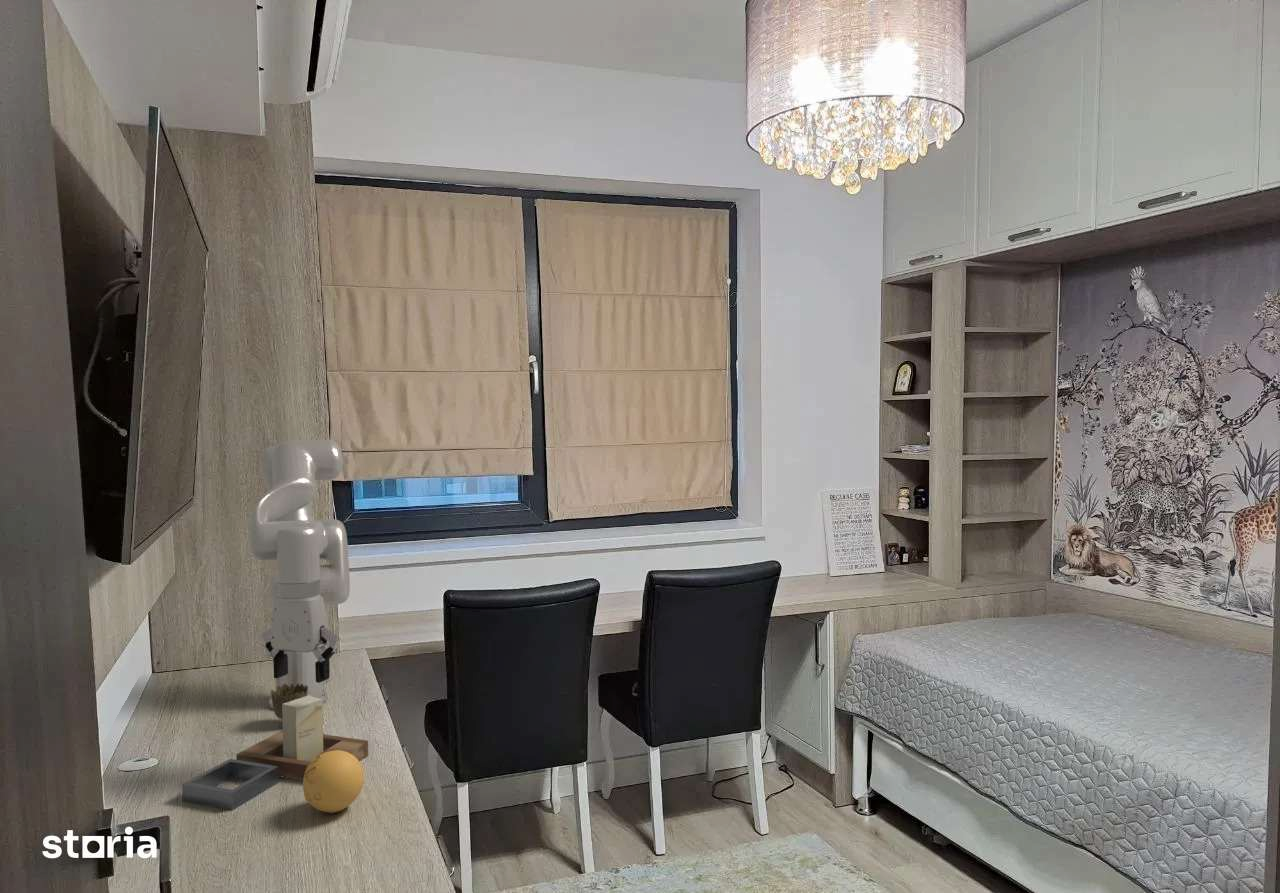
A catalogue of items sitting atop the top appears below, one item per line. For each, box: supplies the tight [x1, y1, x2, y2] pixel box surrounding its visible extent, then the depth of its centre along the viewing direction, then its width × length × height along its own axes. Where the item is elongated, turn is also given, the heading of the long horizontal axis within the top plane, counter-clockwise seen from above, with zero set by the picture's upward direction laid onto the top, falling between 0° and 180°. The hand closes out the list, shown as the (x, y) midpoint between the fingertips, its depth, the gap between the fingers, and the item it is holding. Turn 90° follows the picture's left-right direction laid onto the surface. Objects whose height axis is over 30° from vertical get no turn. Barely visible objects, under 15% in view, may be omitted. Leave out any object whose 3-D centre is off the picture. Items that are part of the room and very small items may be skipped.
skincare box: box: [282, 695, 324, 761], centre depth 163 cm, size 6×4×12 cm
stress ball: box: [302, 750, 365, 814], centre depth 144 cm, size 10×10×10 cm
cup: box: [270, 683, 308, 726], centre depth 182 cm, size 8×7×8 cm
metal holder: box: [181, 758, 280, 811], centre depth 151 cm, size 11×11×3 cm
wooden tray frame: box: [236, 729, 369, 781], centre depth 163 cm, size 13×20×3 cm, turn 72°
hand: (301, 678), depth 162 cm, fingers open, 9 cm apart
